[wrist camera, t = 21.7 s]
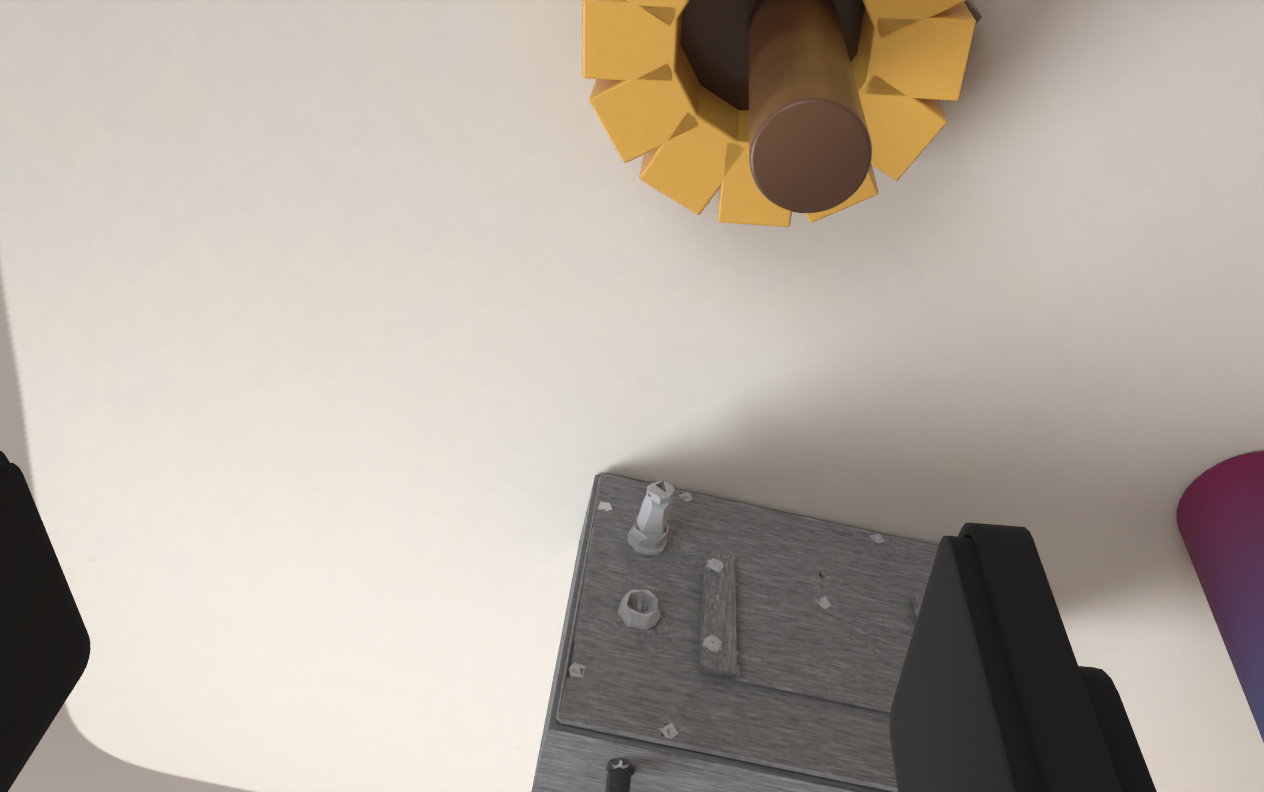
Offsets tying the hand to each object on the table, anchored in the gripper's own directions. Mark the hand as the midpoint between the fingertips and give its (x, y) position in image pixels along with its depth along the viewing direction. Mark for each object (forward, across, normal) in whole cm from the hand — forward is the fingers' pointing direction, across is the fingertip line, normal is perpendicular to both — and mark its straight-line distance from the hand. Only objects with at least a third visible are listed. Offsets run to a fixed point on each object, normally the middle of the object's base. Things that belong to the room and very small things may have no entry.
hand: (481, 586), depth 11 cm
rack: (+22, -4, 0) cm, 23 cm away
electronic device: (+22, -8, +19) cm, 30 cm away
